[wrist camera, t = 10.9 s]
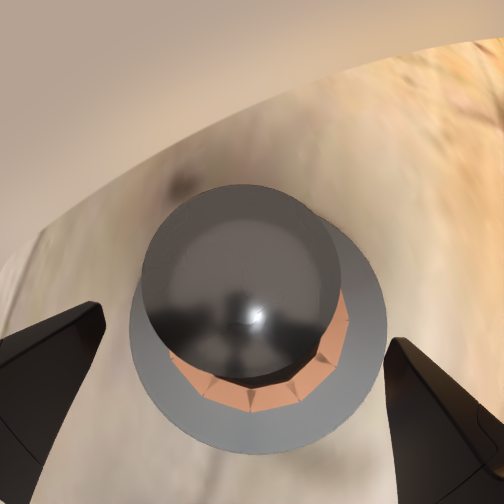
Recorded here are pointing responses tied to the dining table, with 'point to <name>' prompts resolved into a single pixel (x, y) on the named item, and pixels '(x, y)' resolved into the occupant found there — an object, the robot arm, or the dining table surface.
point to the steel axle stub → (241, 281)
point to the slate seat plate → (274, 374)
